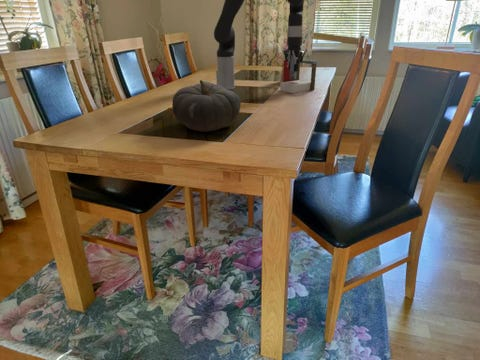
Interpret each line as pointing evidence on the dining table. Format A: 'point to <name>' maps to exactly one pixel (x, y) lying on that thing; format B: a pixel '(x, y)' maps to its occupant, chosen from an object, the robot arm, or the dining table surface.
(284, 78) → the milk carton
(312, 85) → the grey arch
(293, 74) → the peg
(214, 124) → the gourd
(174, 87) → the dining table surface
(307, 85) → the socket block
